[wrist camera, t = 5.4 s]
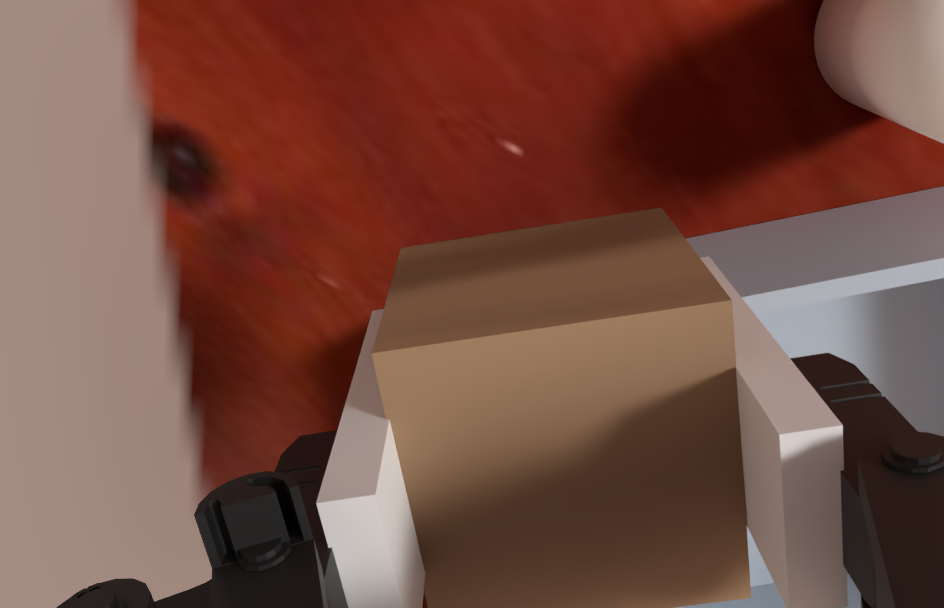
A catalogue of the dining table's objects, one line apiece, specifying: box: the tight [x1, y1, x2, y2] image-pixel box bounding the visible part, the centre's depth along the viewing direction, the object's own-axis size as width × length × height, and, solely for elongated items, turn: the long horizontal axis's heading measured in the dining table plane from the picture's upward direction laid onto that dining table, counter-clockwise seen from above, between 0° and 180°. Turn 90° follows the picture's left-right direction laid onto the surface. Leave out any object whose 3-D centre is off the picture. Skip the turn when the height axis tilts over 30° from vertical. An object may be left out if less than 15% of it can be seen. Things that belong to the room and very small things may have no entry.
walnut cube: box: [371, 208, 751, 608], centre depth 15 cm, size 5×5×5 cm
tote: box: [675, 186, 944, 608], centre depth 30 cm, size 15×19×6 cm
